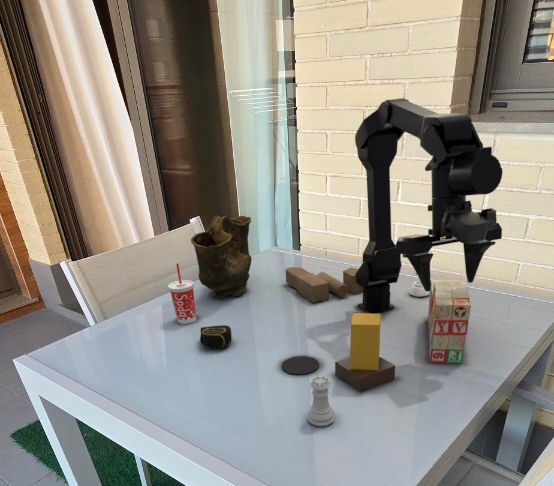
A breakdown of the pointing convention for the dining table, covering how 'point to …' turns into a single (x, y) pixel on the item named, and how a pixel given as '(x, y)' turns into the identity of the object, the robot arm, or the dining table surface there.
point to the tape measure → (215, 336)
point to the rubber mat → (300, 365)
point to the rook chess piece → (320, 403)
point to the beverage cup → (183, 299)
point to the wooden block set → (321, 283)
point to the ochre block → (365, 341)
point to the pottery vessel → (224, 255)
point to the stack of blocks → (448, 320)
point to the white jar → (418, 290)
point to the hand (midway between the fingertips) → (449, 286)
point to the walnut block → (365, 374)
